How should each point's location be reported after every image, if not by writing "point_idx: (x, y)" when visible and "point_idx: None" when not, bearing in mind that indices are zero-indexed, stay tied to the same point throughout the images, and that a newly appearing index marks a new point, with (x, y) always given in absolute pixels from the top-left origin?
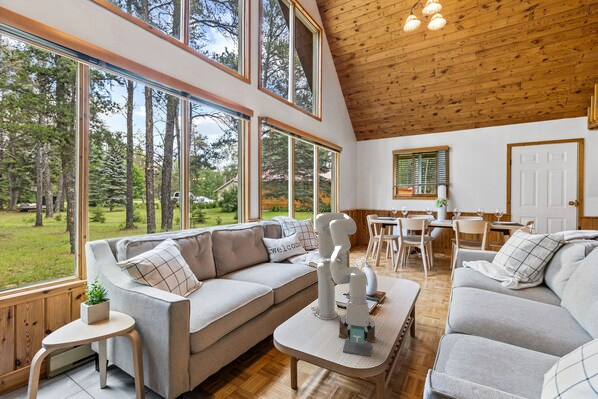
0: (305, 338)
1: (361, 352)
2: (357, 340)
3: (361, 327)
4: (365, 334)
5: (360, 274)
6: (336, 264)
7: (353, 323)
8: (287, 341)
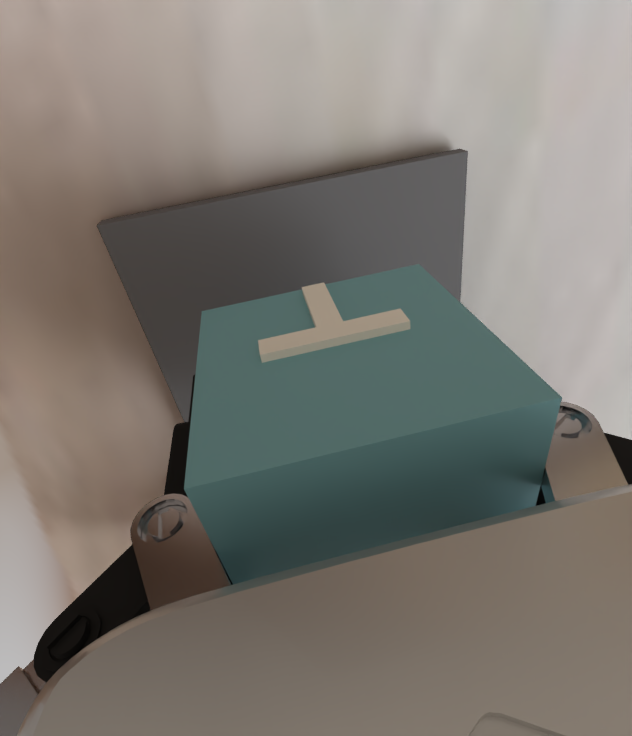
0: None
1: (230, 235)
2: (310, 299)
3: (294, 554)
4: (187, 446)
5: None
6: None
7: (581, 564)
8: None
